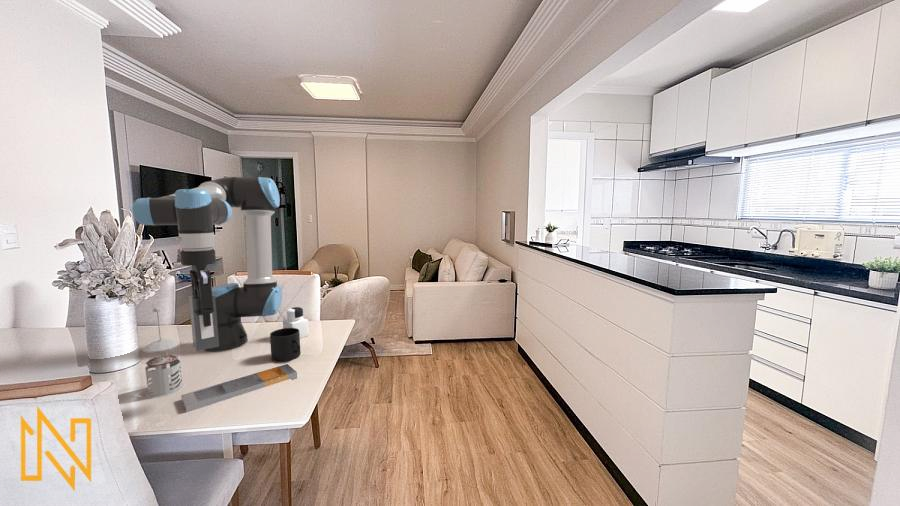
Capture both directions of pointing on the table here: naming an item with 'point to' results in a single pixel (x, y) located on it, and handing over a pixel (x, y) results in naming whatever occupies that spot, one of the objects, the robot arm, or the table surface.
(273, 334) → the mug
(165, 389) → the french press
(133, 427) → the table surface
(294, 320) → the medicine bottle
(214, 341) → the graphite post
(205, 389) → the rail
